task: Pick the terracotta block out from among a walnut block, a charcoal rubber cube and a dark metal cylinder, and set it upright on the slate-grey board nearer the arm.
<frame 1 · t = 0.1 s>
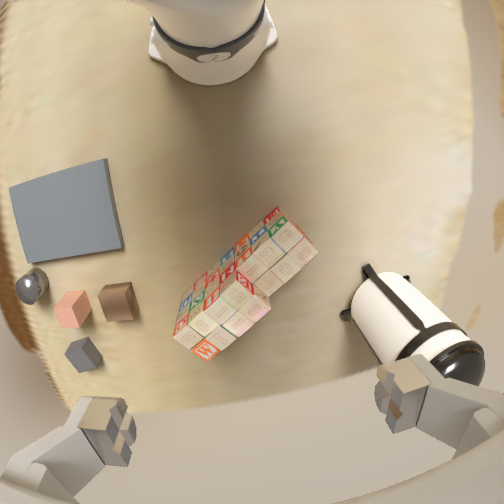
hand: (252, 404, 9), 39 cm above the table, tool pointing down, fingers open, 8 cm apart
coffee press: (380, 295, 54), on the table
dark metal cylinder: (38, 280, 47), on the table
charcoal rubber cube: (86, 349, 53), on the table
terracotta block: (79, 300, 49), on the table
stack of blocks: (240, 264, 49), on the table
walnut block: (122, 296, 50), on the table
slate board: (63, 213, 43), on the table
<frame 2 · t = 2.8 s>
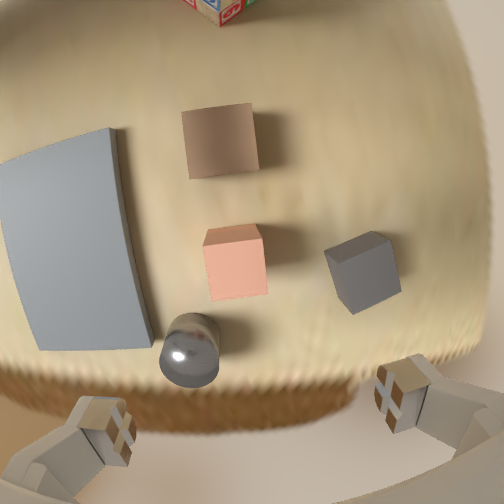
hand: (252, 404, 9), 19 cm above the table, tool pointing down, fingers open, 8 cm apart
dark metal cylinder: (193, 335, 29), on the table
charcoal rubber cube: (354, 264, 28), on the table
terracotta block: (234, 249, 27), on the table
walnut block: (221, 144, 25), on the table
slate board: (66, 251, 26), on the table
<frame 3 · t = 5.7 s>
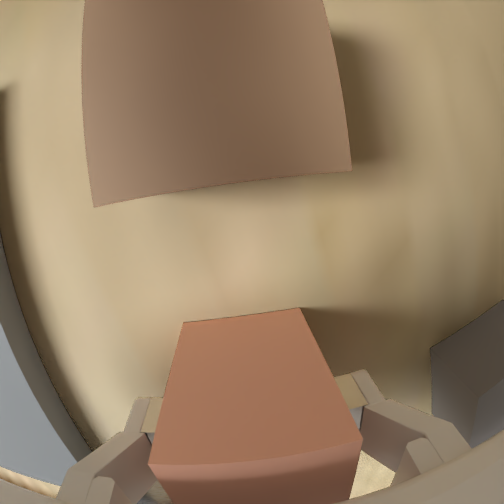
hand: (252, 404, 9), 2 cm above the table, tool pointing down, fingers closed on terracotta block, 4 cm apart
dark metal cylinder: (174, 480, 13), on the table
charcoal rubber cube: (467, 359, 12), on the table
terracotta block: (248, 363, 11), on the table, touching gripper
walnut block: (214, 102, 9), on the table
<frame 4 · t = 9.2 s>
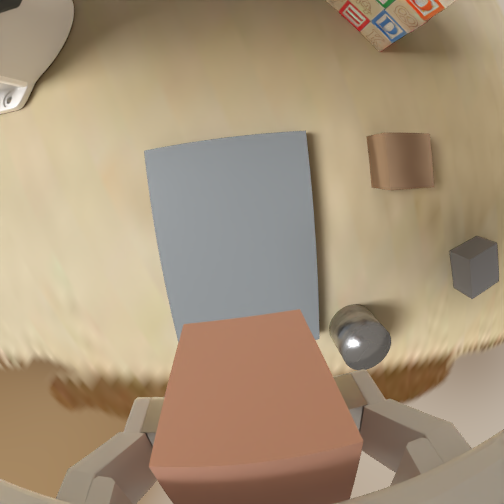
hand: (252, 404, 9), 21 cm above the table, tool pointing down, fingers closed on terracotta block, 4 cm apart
dark metal cylinder: (350, 325, 32), on the table
charcoal rubber cube: (465, 261, 31), on the table
terracotta block: (248, 364, 11), point 18 cm above the table, touching gripper
walnut block: (390, 160, 28), on the table
slate board: (237, 248, 29), on the table
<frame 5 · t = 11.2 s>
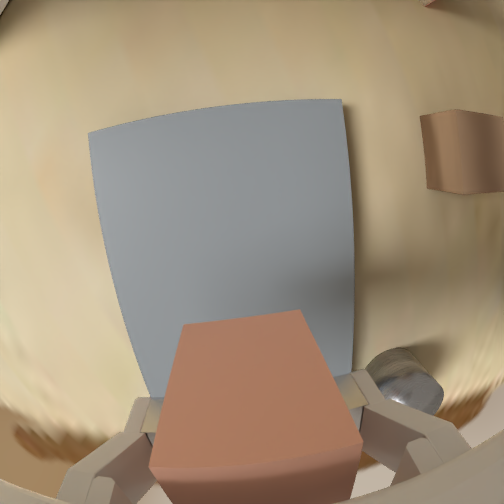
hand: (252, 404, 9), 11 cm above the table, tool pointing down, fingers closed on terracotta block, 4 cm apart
dark metal cylinder: (387, 373, 22), on the table
terracotta block: (248, 364, 11), point 8 cm above the table, touching gripper
walnut block: (448, 152, 18), on the table
slate board: (235, 281, 19), on the table
when the fingers open (5 cm above the table, at t = 13.0 s): terracotta block drops 1 cm, resting on slate board.
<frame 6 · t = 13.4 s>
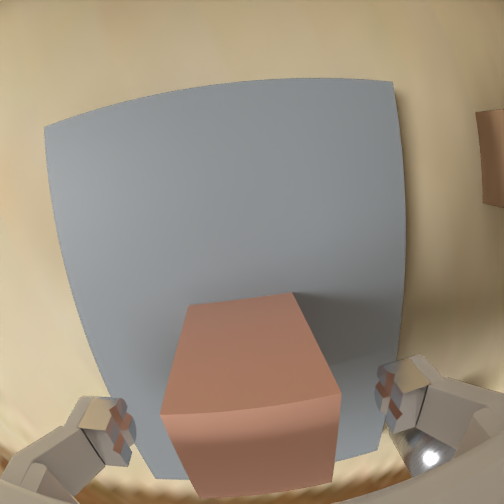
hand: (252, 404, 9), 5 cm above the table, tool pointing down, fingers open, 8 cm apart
dark metal cylinder: (419, 416, 17), on the table
terracotta block: (246, 343, 12), point 1 cm above the table, touching slate board
slate board: (244, 326, 14), on the table
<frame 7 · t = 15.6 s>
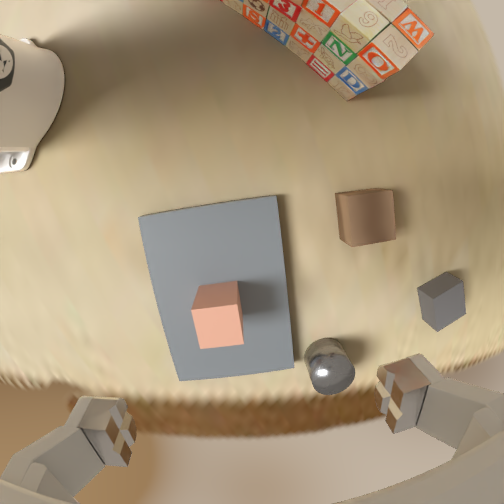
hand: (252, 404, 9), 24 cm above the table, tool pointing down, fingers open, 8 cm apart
dark metal cylinder: (323, 354, 36), on the table
charcoal rubber cube: (434, 295, 35), on the table
terracotta block: (221, 300, 32), point 1 cm above the table, touching slate board
stack of blocks: (291, 24, 27), on the table
walnut block: (358, 213, 32), on the table
slate board: (221, 295, 34), on the table
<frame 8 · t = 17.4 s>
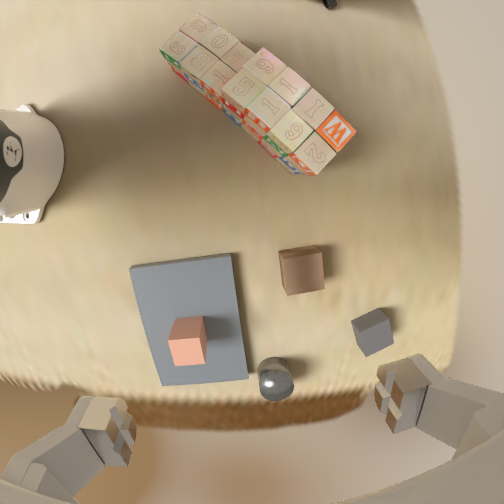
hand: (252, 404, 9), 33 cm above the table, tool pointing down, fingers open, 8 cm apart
dark metal cylinder: (272, 369, 47), on the table
charcoal rubber cube: (367, 326, 46), on the table
terracotta block: (191, 329, 42), point 1 cm above the table, touching slate board
stack of blocks: (247, 103, 37), on the table
walnut block: (298, 265, 43), on the table
slate board: (192, 324, 44), on the table
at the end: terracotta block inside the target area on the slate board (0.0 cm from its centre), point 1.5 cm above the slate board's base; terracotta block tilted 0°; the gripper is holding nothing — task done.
